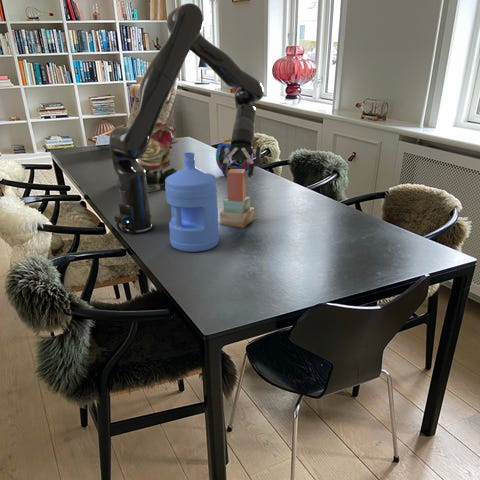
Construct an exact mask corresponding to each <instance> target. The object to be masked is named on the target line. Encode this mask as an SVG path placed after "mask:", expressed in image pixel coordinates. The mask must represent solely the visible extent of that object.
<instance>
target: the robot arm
mask: <svg viewBox="0 0 480 480" xmlns="http://www.w3.org/2000/svg"><path fill="white" fill-rule="evenodd" d="M166 26H167V30H168V32H169V33H170V35H169V36H168V39H167V40H166V41H165V43H164V45H163V46H162V47H161V49H160V50H159V51H158V52H157V53H156V54H155V56H154V58H153V59H152V60H151V61H150V62H149V65H148V66H147V69H146V71H145V73H144V75H143V77H142V79H141V82H140V85H139V89H138V90H139V91H138V92H139V93H138V95H139V96H138V99H139V101H138V110H137V112H136V115H135V117H134V119H133V121H132V123H131V125H130V126H124V125H123V126H122V125H120V126H116V127H115V128H113V129H112V131H111V132H110V134H109V151H110V157H111V162H112V166H113V170H114V172H115V174H116V178H117V183H118V191H119V197H120V202H119V203H118V208H119V213H118V214H115V215H114V222H115V223H116V228H117V229H118V231H119V232H122V231H124V232H126V233H129V234H132V235H134V234H142V233H146V232H149V231H150V230H152V229H153V224H152V214H151V208H150V200H149V199H150V198H149V192H148V190H147V180H146V172H145V170H144V168H143V167H142V166H141V165H140V164H139V162H138V160H137V159H139V158H140V157H142V156H143V155H144V153H145V152H146V150H147V147H148V145H149V142H150V139H151V136H152V133H153V130H154V128H155V125H156V122H157V120H158V118H159V116H160V115H161V113H162V111H163V109H164V107H165V104H166V102H167V100H168V98H169V96H170V94H171V92H172V90H173V88H174V85H175V83H176V81H177V79H178V76H179V75H180V72H181V71H182V70H181V69H182V68H183V65H184V63H185V61H186V58H187V56H188V54H189V52H190V51H191V53H193V54H194V55H195V56H196V57H198V58H199V59H200V60H201V61H202V62H204V63H205V65H207V66H208V67H209V68H210V69H211V70H212V71H213V73H215V74H216V75H217V76H218V77H219V78H220V79H221V80H222V82H223V83H224V84H225V85H226V86H227V87H229V88H231V89H232V88H237V89H236V90H235V93H234V104H235V110H236V113H235V119H234V123H233V128H232V133H231V138H230V139H231V146H230V147H229V148H224V146H222V147H221V150H220V154H219V159H218V161H219V164H220V165H223V168H222V171H221V173H222V175H223V176H224V177H227V170H228V165H229V164H230V163H232V162H233V161H234V160H235V161H245V160H246V161H247V162H248V164H249V169H248V171H247V176H248V178H251V177H252V176H254V170H255V167H258V168H259V167H260V166H261V154H262V152H261V148H260V147H259V146H257V147H256V148H253V146H254V145H253V144H254V137H255V130H256V129H255V128H256V127H255V124H256V119H257V118H256V117H257V110H256V107H255V106H253V104H255V103H257V102H259V101H261V100H262V98H263V97H264V94H265V93H264V92H265V91H264V87H263V85H262V83H261V82H260V81H259V80H258V79H257V78H255V76H252V74H250V73H248V72H246V71H244V70H243V69H242V68H241V67H240V66H239V65H238V63H237V62H236V61H234V59H233V58H232V57H231V56H230V55H229V54H227V53H226V52H225V51H224V50H222V49H221V48H219V47H217V46H216V45H214V44H213V43H211V42H210V41H209V40H208V39H207V38H205V36H203V35H202V34H201V32H202V31H203V27H204V15H203V12H202V9H201V8H200V7H199V6H198V5H197V4H195V3H192V2H187V3H182V4H181V5H180V6H177V7H176V8H174V9H172V10H171V11H170V12H169V14H168V15H167V18H166ZM160 117H161V116H160ZM227 152H229V153H230V154H229V155H228V156H227V158H226V159H225V160H224V157H225V155H226V154H227ZM252 153H253V155H254V156H255V160H254V159H253V160H252V159H251V157H250V156H251V155H252ZM120 225H121V227H120Z"/></svg>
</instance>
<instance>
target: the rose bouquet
mask: <svg viewBox="0 0 480 480" xmlns="http://www.w3.org/2000/svg"><path fill="white" fill-rule="evenodd" d="M168 121H169V117H166V119H165V118H164V117H163V116H159V118H158V120H157V122H156V125H155V128H154V130H153V133H152V136H151V139H150V142H149V145H148V147H147V150H146V152H145V153H144V155H143V156H142V157H140V158H139V159H137V160H138V162H139V164H140V165H141V166H142V167H143V168H144V170H145V172H146V180H147V190H148V193H151V192H156V191H160V190H165V180H166V178H167V177H168V176H170V175H172V174H174V173H176V172H178V169H175V167H176V165H174V166H172V167H171V168H169V169H166V168H168V167H170V166H171V160H172V156H173V152H174V147H173V146H172V145H174V144H175V145H176V144H178V142H179V140H178V141H177V140H175V136H174V135H173V134H174V133H175V132H177V131H178V130H177V128H176V127H173V126H171V125H167V122H168ZM164 169H166V170H165V171H163V170H164Z"/></svg>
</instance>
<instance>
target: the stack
mask: <svg viewBox="0 0 480 480" xmlns="http://www.w3.org/2000/svg"><path fill="white" fill-rule="evenodd" d="M222 202H223V209H222V210H221V211H219V224H220V225H223V226H229V227H235V228H242V229H244V228H245V227H246V226H247V225H249V224H251V223H252V222H254V220H255V207H251V197H250V196H246V197H245V198H244V200H243V201H232V200H228V197H227V198H224V199H223V201H222Z"/></svg>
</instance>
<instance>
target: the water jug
mask: <svg viewBox="0 0 480 480" xmlns="http://www.w3.org/2000/svg"><path fill="white" fill-rule="evenodd" d="M183 156H184V158H183V162H184V167H183V168H182V169H179V170H177V172H176V173H174V174H172V175H170V176H168V177H167V178H166V180H165V189H164V190H165V194H166V202H167V204H169V205H170V213H171V220H170V221H169V223H168V228H169V244H170V246H172V248H174V249H175V250H178V251H180V252H187V253H197V252H199V253H200V252H204V251H209V250H211V249H213V248H215V247H216V246H217V245H218V244H219V241H220V234H219V209H218V183H217V177H216V176H215V175H214V174H212V173H210V172H208V171H205V170H204V169H200V168H198V167H196V158H195V152H191V151H190V152H189V151H188V152H184V153H183Z"/></svg>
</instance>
